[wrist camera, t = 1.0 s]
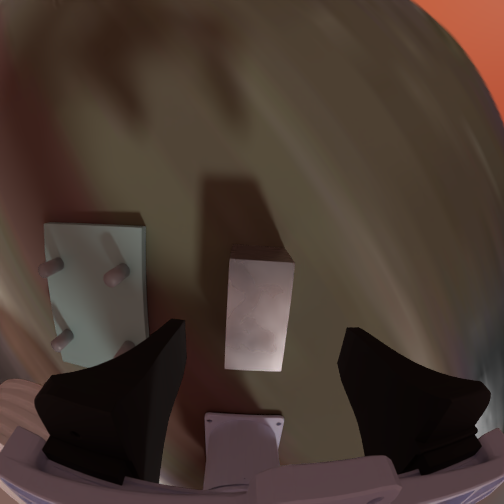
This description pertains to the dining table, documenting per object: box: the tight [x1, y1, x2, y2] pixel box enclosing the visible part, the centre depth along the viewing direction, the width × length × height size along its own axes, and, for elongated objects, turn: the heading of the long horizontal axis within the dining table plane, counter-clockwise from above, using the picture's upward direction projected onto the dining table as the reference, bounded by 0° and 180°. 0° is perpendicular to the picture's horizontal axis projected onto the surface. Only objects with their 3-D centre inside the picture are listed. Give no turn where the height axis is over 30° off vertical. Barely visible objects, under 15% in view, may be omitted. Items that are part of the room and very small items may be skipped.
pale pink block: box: [225, 244, 295, 371], centre depth 21 cm, size 8×4×5 cm, turn 176°
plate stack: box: [0, 379, 50, 504], centre depth 23 cm, size 28×28×12 cm
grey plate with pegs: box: [38, 222, 149, 368], centre depth 21 cm, size 14×10×4 cm
